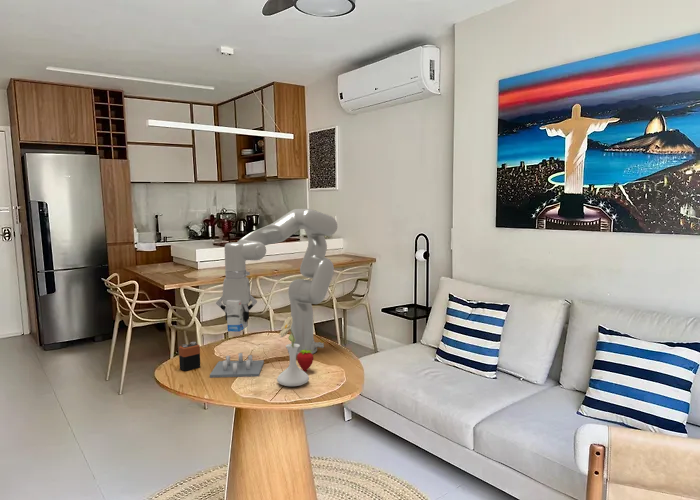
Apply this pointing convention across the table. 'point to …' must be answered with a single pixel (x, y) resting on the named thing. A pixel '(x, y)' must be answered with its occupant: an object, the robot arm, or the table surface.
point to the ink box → (235, 316)
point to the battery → (189, 356)
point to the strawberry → (305, 359)
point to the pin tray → (237, 367)
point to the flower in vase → (291, 361)
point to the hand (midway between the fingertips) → (237, 321)
